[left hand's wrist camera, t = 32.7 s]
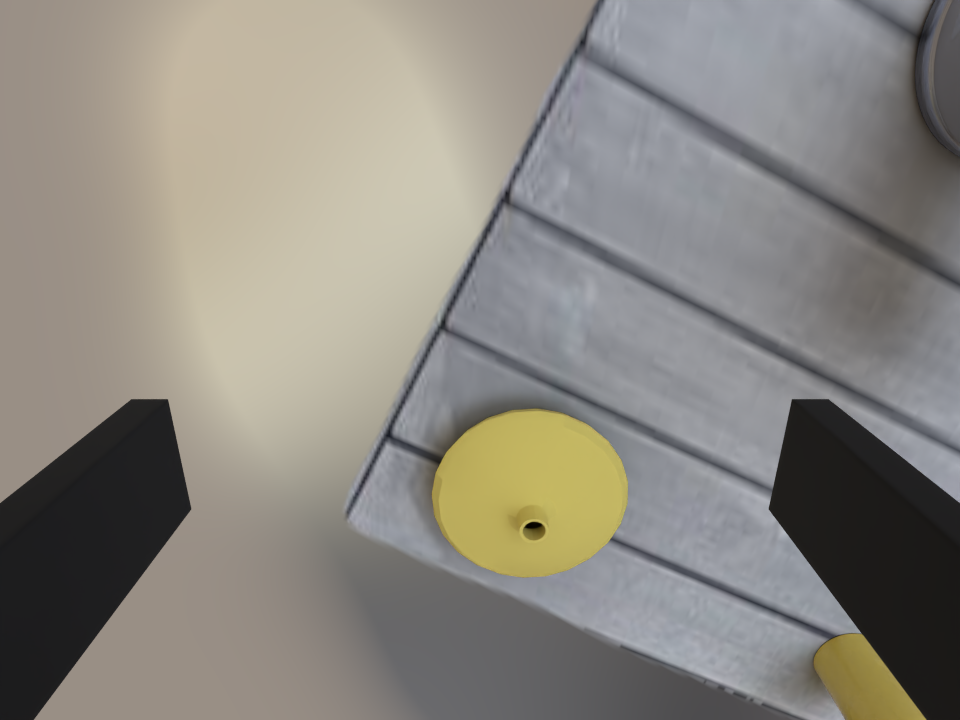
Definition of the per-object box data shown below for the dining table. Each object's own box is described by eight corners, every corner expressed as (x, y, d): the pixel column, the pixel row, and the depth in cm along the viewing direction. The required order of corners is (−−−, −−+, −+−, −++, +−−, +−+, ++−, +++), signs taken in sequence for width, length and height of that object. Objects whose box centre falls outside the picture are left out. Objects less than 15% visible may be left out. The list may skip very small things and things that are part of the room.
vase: (575, 362, 47) (590, 401, 40) (647, 512, 52) (672, 568, 45) (400, 442, 49) (388, 491, 43) (485, 577, 55) (486, 639, 48)
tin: (855, 688, 60) (922, 789, 51) (800, 671, 59) (859, 771, 50) (892, 643, 58) (970, 741, 49) (836, 625, 57) (904, 721, 48)
